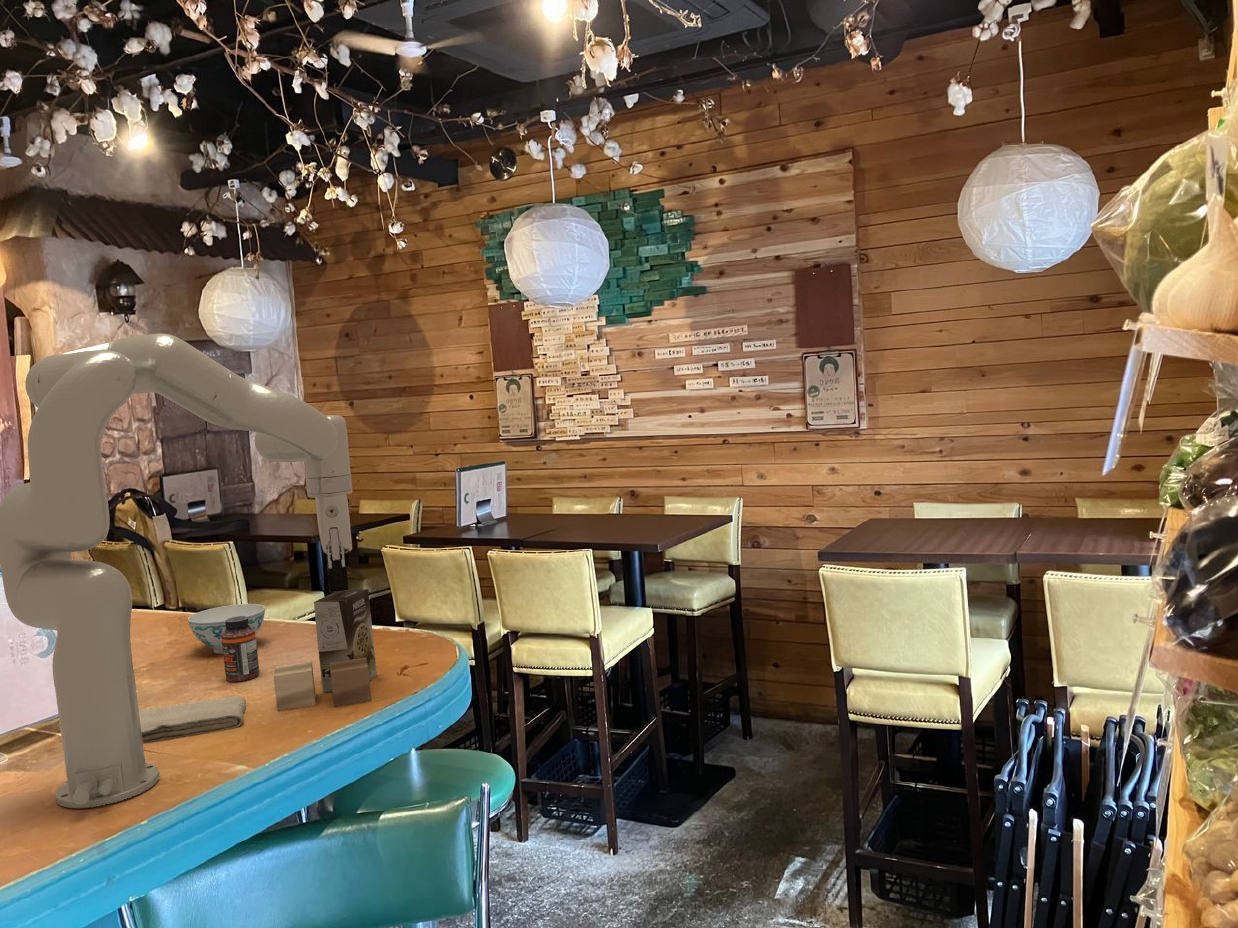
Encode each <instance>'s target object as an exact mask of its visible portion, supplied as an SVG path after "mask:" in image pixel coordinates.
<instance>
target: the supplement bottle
mask: <svg viewBox="0 0 1238 928" xmlns="http://www.w3.org/2000/svg"><path fill="white" fill-rule="evenodd" d="M248 624H249V622H248V617H247V616H237V617H232V618H229V619H226V620H225V627H226V629H225V631H224V632H223V633H222V635H221V639H222V648H223V654H222V655H223V665H224V675H225V679H226V680H227V681H228V682H231V683H232V682H233V683H239V682H245V681H249V680H252V679H255V678H256V677H258V676H259V674H260V664H259V655H258V645H257V637H256V636H257V635H255V630H254V629H253V628H252V627H250V626H249V625H248Z"/></svg>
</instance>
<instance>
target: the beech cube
mask: <svg viewBox="0 0 1238 928" xmlns="http://www.w3.org/2000/svg"><path fill="white" fill-rule="evenodd" d="M273 682H274V683H273V684H274V692H275V699H276V700H275V702H276V709H277V712H280V710H281V711H286V709H288V710H293V709H292V708H294V709H298V708H299V709H300V708H305V707H310V706H316V696H317V695H316V685H315V677H314V667H313V661H312V660H310V661H303V662H298V663H297V662H296V663H290V664H283V665H282V664H281V665H277V666H275V667H274V672H273Z"/></svg>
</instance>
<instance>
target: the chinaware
mask: <svg viewBox="0 0 1238 928" xmlns="http://www.w3.org/2000/svg"><path fill="white" fill-rule="evenodd" d="M265 613H266V606H265V605H263V604H257V603H242V604H241V603H238V604H230V605H224V606H218V607H213V608H209V609H205V610H201V611H197V612H196V613H193V614H191V615H190V616H188V618H187V622H188V626H189V628H190V630H191V631H192V633H193V635H194V636H195V638H196V639H198V641H199V642H201V643H202V644H203V645H205V646H207V647H209V648H211V649H212V650H213V653H215V654H222V655H223V648H222V639H221V635H222V633H223V632H224V631H225V629H226V627H225V620H226V619H229V618H232V617H237V616H247V617H248V622H249V624H248V625H249V626H250V627H252V628H253V629H254V630H255V636H257V635H258V634H259V633H258V632H259V631H260V630H261V628H262V626H263V623H264V619H265Z"/></svg>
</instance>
